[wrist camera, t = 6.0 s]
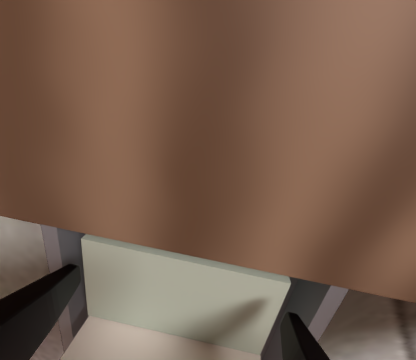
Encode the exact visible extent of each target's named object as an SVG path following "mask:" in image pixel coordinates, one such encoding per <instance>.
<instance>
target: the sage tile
mask: <svg viewBox="0 0 416 360" xmlns="http://www.w3.org/2000/svg"><path fill="white" fill-rule="evenodd" d="M81 245H82V256H83V267H84V278H85V289H86V300H87V311H88V315H89V316H93V317H98V318H102V319H106V320H111V321H115V322H119V323H124V324H128V325H132V326H136V327H141V328H145V329H149V330H154V331H158V332H162V333H167V334H171V335H175V336H180V337H184V338H188V339H192V340H197V341H201V342H205V343H210V344H214V345H218V346H223V347H227V348H231V349H236V350H240V351H244V352H249V353H253V354H257V355H260V354H261V351H262V349H263V347H264V345H265V342H266V340H267V338H268V335H269V333H270V331H271V329H272V326H273V324H274V322H275V320H276V317H277V315H278V313H279V310H280V308H281V306H282V304H283V301H284V299H285V297H286V294H287V292H288V290H289V288H290V285H291V282H290V279H289V276H284V275H279V274H275V273H270V272H265V271H260V270H256V269H251V268H246V267H241V266H237V265H232V264H227V263H222V262H218V261H213V260H208V259H203V258H199V257H194V256H189V255H184V254H180V253H175V252H170V251H165V250H161V249H156V248H151V247H146V246H141V245H137V244H132V243H127V242H122V241H118V240H113V239H108V238H103V237H99V236H94V235H89V234H85V235H84V236H83V237H82V238H81Z"/></svg>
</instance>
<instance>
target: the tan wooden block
mask: <svg viewBox="0 0 416 360" xmlns="http://www.w3.org/2000/svg"><path fill="white" fill-rule="evenodd" d="M0 216H4V217H8V218H13V219H18V220H23V221H27V222H32V223H37V224H42V225H46V226H51V227H56V228H61V229H65V230H70V231H75V232H80V233H84V234H89V235H94V236H99V237H103V238H108V239H113V240H118V241H122V242H127V243H132V244H137V245H141V246H146V247H151V248H156V249H161V250H165V251H170V252H175V253H180V254H184V255H189V256H194V257H199V258H203V259H208V260H213V261H218V262H222V263H227V264H232V265H237V266H241V267H246V268H251V269H256V270H260V271H265V272H270V273H275V274H279V275H284V276H289V277H294V278H298V279H303V280H308V281H313V282H317V283H322V284H327V285H332V286H337V287H341V288H346V289H351V290H356V291H360V292H365V293H370V294H375V295H379V296H384V297H389V298H394V299H398V300H403V301H408V302H413V303H416V0H0Z"/></svg>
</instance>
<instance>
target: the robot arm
mask: <svg viewBox="0 0 416 360" xmlns="http://www.w3.org/2000/svg"><path fill="white" fill-rule="evenodd" d="M80 282H81V271H80V266H79V265H76V264H68V265H66V266H64V267H62V268H60V269H58V270H56V271H54V272H52V273H50V274H48V275H46V276H44V277H42V278H41V279H39V280H37V281H35V282H33V283H31V284H29V285H27V286H25V287H23V288H21V289H19V290H18V291H16V292H14V293H12V294H10V295H8V296H6V297H4V298H2V299H0V360H29V359H30V358H31V357H32V355H33V354H34V352H35V351H36V350H37V348H38V347H39V346H40V344H41V343H42V342H43V340H44V339H45V337H46V336H47V335H48V333H49V332H50V331H51V329H52V328H53V326H54V325H55V323H56V322H57V321H58V319H59V317H60V316H61V314H62V313H63V311H64V309H65V308H66V306H67V304H68V303H69V301H70V299H71V298H72V296H73V294H74V293H75V291H76V289H77V288H78V286H79V284H80ZM280 335H281V346H282V358H283V360H330V359H329V358H328V356H327V355H326V353H325V352H324V350H323V349H322V348H321V346H320V345H319V343H318V342H317V341H316V339H315V338H314V336H313V335H312V334H311V332H310V331H309V329H308V328H307V327H306V325H305V324H304V322H303V321H302V320H301V318H300V317H299V315H298V314H296V313H293V312H289V311H287V312H286V313H285V315H284V318H283V320H282V322H281V325H280Z"/></svg>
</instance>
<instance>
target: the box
mask: <svg viewBox="0 0 416 360" xmlns="http://www.w3.org/2000/svg"><path fill="white" fill-rule="evenodd" d="M41 229H42V234H43V240H44V245H45V251H46V256H47V262H48V267H49V273H52V272H54V271H56V270H58V269H60V268H62V267H64V266H66V265H68V264H76V265H79V266H80V271H81V282H80V284H79V286H78V288H77V289H76V291H75V293H74V294H73V296H72V298H71V299H70V301H69V303H68V304H67V306H66V308H65V309H64V311H63V313H62V314H61V316H60V317H59V319H58V322H59V327H60V333H61V338H62V344H63V349H64V353H65V351H66V350H67V348H68V347H69V345H70V344H71V342H72V341H73V339H74V338H75V336H76V335H77V333H78V332H79V330H80V329H81V327H82V326H83V324H84V323H85V321H86V320H87V318H88V317H89V315H88V311H87V300H86V289H85V278H84V267H83V256H82V245H81V238H82V237H83V236H84V235H85V234H84V233H80V232H75V231H70V230H65V229H61V228H56V227H51V226H46V225H42V224H41ZM289 279H290V282H291V285H290V288H289V290H288V292H287V294H286V297H285V299H284V301H283V304H282V306H281V308H280V310H279V313H278V315H277V317H276V320H275V322H274V324H273V326H272V329H271V331H270V333H269V335H268V338H267V340H266V342H265V345H264V347H263V349H262V351H261V354H260V357H261V360H283V358H282V346H281V335H280V325H281V322H282V320H283V318H284V315H285V313H286V312H287V311H289V312H293V313H296V314H298V315H299V317H300V318H301V320H302V321H303V322H304V324H305V325H306V327H307V328H308V329H309V331H310V332H311V334H312V335H313V336H314V338H315V339H316V341H317V342H318V341H319V339H320V338H321V336H322V334H323V333H324V331H325V329H326V328H327V326H328V324H329V322H330V321H331V319H332V317H333V316H334V314H335V312H336V311H337V309H338V307H339V306H340V304H341V302H342V300H343V299H344V297H345V295H346V294H347V292H348V290H349V289H346V288H341V287H337V286H332V285H327V284H322V283H317V282H313V281H308V280H303V279H298V278H294V277H289Z"/></svg>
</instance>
